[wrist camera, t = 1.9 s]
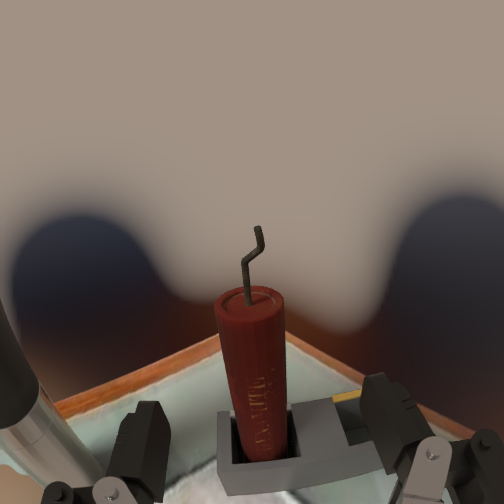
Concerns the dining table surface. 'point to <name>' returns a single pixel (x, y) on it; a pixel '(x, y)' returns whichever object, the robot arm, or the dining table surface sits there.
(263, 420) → the firecracker
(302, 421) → the socket block
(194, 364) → the dining table surface
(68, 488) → the robot arm
